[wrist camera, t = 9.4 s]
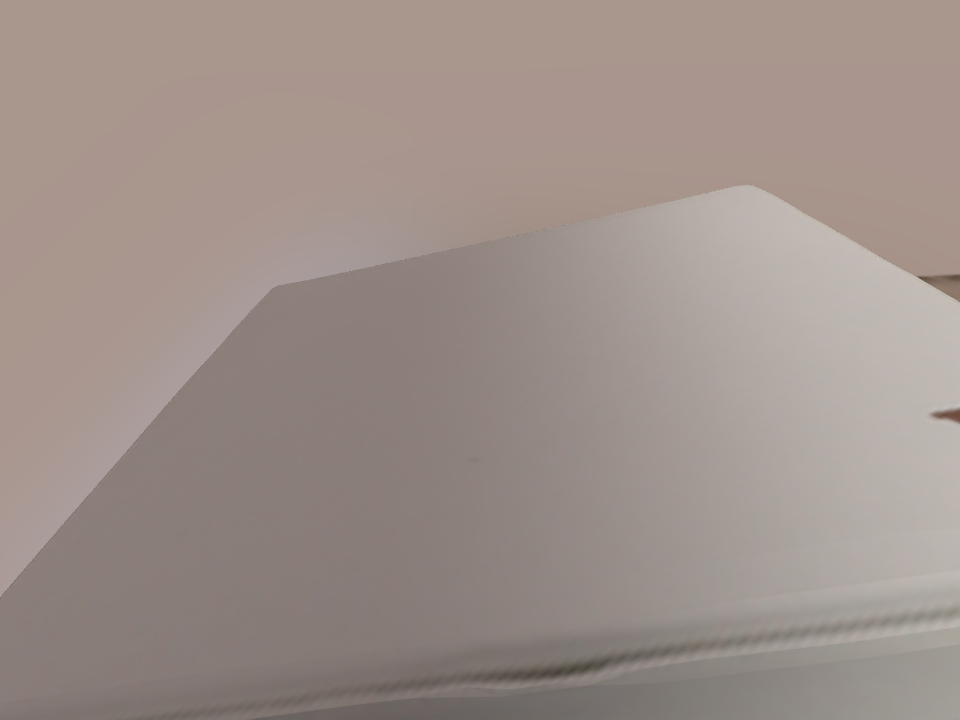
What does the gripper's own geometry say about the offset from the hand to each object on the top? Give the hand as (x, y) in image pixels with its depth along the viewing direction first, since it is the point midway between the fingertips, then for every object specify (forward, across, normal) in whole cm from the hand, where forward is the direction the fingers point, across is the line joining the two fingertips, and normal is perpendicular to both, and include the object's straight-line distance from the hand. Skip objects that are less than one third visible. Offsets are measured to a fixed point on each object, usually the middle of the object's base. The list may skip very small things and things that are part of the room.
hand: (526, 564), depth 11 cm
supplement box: (-3, 0, -7) cm, 8 cm away
